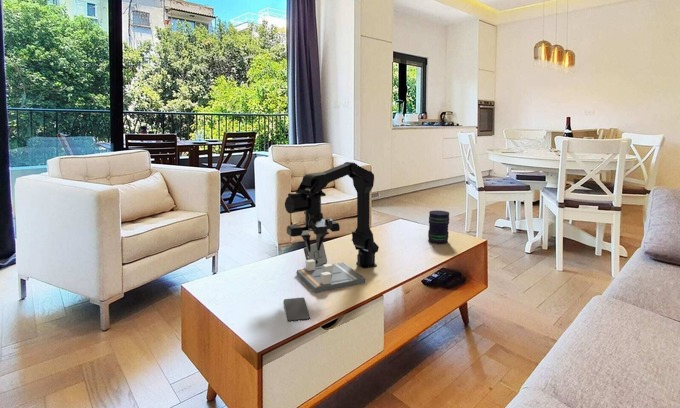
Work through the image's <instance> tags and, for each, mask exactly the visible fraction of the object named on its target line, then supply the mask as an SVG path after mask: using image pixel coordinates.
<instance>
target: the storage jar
mask: <svg viewBox="0 0 680 408" xmlns="http://www.w3.org/2000/svg"><path fill="white" fill-rule="evenodd" d="M428 214H429V216H428V224H429V225H428V232H427V233H428V234H427V237H428V240H427V241H428V243H430V244H432V245H446V244H448V242H449V241H448V239H449V225H450V212H449V211H446V210H430V211H429V213H428Z"/></svg>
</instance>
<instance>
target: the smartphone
mask: <svg viewBox="0 0 680 408" xmlns="http://www.w3.org/2000/svg"><path fill="white" fill-rule="evenodd" d="M283 303H284V309H285V314H286V319H287V320H286V321H287V322H288V323H292V322H291V321H293V322H299V321H298V320H300V321H301V320H302V321H310V320H311V316H310V313H309V310H308V306H307V302H306V299H305V297H303V296H302V297H293V298H285V299H283ZM309 319H310V320H309Z"/></svg>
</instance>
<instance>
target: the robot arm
mask: <svg viewBox="0 0 680 408" xmlns="http://www.w3.org/2000/svg"><path fill="white" fill-rule="evenodd" d="M345 176H348V177H349V178H351V179H352V184H353V187H354V190H355V191H356V205H357V206H356V214H357V215H356V216H357V217H356V218H357V219H356V222H357V224H356V228H355V231H352V232H351V237H352V238H351V242H352V243H353V245H354V248H355V250H357V251H358V253H357V254H356V256H357V258H356V260H357V261H356V265H358V266H359V267H361V268H363V269H366V268H367V269H368V268H372V267H377V265H378V264H377V263H376V253H378V252H379V249H380V247H379V245H378V244H377V243H376V242H375V239H374V233H373V231H372V230H371V228H370V198H371V197H370V193H371V191H372V189H373V187H374V182H375V173H373V172H372V171H371V170H367V169H366V168H364V167H362V166H360V165H358V164H357V163H356V162H351V161H346V162H344V163H342V164H340V165H339V164H338V165H337V166H334V167H333V168H330V169H327V170H324V171H322V172H311V173H307V174H305V175H303V177H302V180H301V182H300V184H299V186H298V188H297V189H296V192H295V193H293V192H291V193H287V197H286V199H285V202H284V208H285V211H286V212H287V213H288V214H295V213H301V212H303V214H304V217H305V218H304V219H305V221H304V223H303V224H304V226H300V225H298V224H291V225H290V224H289V225H288V226H286V234H287V235H288V236H290V237H293V238H294V237H301V238H302V240H303V241H304V244H305V246H306V247H307V249H308V251H309V252H310V250H311V247H310V245H311V234H309V233H310V232H313V234H314V235H315V236H316V241H315V243H316V246H317V250H318V251H319V249H320V247H321V244H322V242H324V239H325V237H326V236H327V235H329V234H330V232H329V231H328V230H330V231H331V232H339V231H340V230H341V228H340V224H339V223H338V222H337V221H334V220H333V219H332V218H324V215H323V212H322V197H326V195H327V194H326V192H324V191H323V189H326V187H327V186H328V184H330V183H332V182H334V181H337V180H339V179H341V178H343V177H345ZM306 247H305V248H306Z"/></svg>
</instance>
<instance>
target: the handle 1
mask: <svg viewBox="0 0 680 408" xmlns="http://www.w3.org/2000/svg"><path fill="white" fill-rule="evenodd" d="M305 269H307V270H308V271H311V270H315V261H314V260H313V259H311V260H306V259H305Z"/></svg>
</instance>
